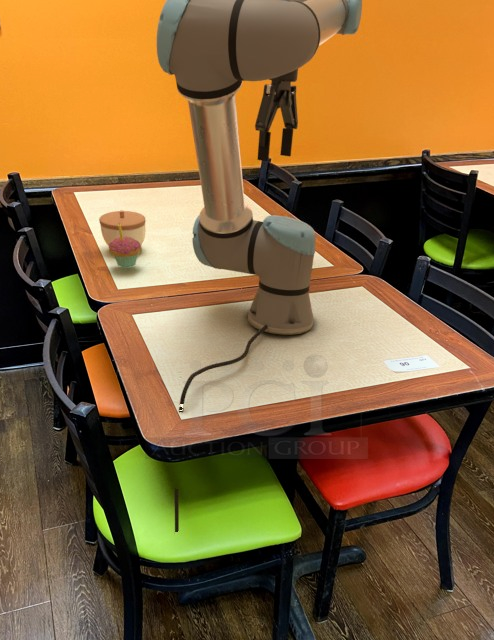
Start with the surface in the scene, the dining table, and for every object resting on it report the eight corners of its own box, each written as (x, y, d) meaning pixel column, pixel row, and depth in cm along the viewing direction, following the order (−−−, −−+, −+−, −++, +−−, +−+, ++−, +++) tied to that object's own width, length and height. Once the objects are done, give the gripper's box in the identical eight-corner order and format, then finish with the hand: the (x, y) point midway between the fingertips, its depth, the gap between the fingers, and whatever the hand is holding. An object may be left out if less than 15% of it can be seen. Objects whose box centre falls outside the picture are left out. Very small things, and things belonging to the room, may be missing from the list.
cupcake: (135, 272, 149) (131, 227, 142) (104, 268, 150) (99, 223, 143) (147, 260, 156) (143, 216, 148) (117, 256, 157) (113, 212, 150)
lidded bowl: (152, 243, 168) (149, 205, 162) (140, 259, 158) (137, 220, 152) (110, 240, 169) (106, 202, 162) (96, 255, 159) (91, 216, 152)
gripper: (289, 62, 146) (281, 152, 157) (244, 58, 126) (238, 160, 137) (316, 65, 143) (306, 155, 154) (274, 60, 124) (266, 164, 135)
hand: (274, 158), depth 146 cm, fingers open, 13 cm apart
